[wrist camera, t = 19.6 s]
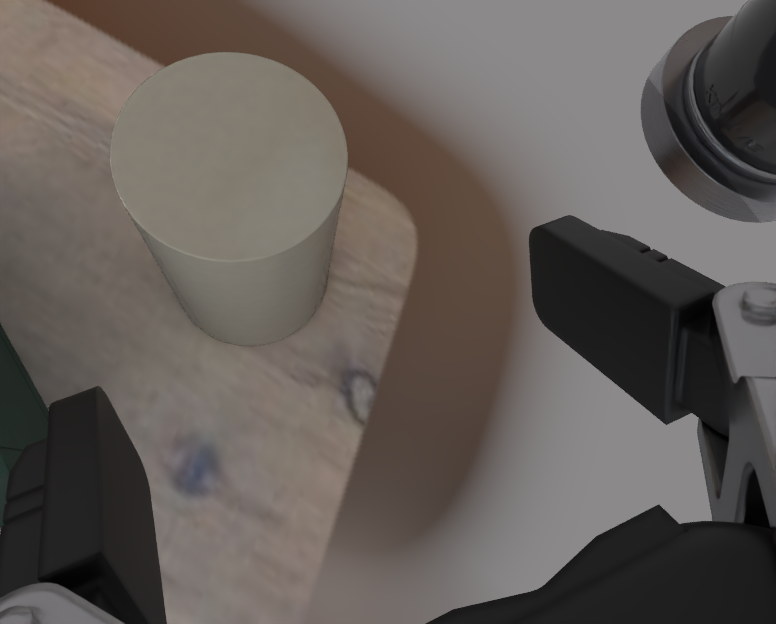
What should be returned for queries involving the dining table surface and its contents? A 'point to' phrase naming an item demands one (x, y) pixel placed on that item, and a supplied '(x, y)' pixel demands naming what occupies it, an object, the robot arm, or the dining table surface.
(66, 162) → the dining table surface
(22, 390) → the dark green box
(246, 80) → the cream cylinder
